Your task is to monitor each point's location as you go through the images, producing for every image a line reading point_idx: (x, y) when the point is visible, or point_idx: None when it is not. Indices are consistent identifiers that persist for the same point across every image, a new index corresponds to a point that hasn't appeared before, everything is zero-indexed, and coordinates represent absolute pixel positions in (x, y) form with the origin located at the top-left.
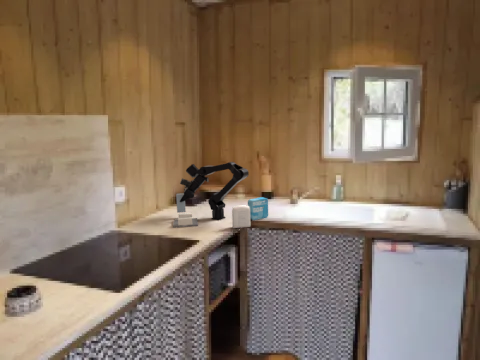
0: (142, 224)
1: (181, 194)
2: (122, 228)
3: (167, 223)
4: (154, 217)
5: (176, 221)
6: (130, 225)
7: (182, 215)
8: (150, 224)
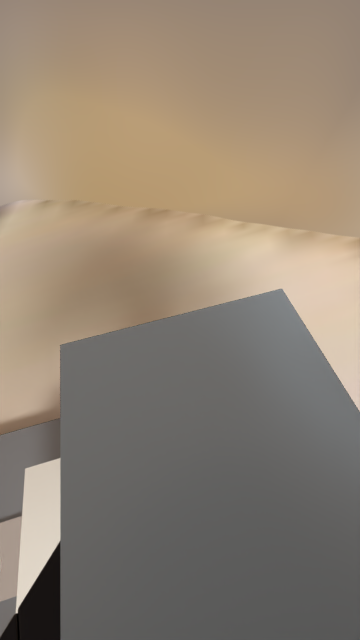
0: (68, 257)
1: (141, 555)
2: (25, 213)
3: (53, 378)
4: (204, 263)
5: (40, 448)
6: (64, 222)
7: (27, 520)
8: (58, 290)
